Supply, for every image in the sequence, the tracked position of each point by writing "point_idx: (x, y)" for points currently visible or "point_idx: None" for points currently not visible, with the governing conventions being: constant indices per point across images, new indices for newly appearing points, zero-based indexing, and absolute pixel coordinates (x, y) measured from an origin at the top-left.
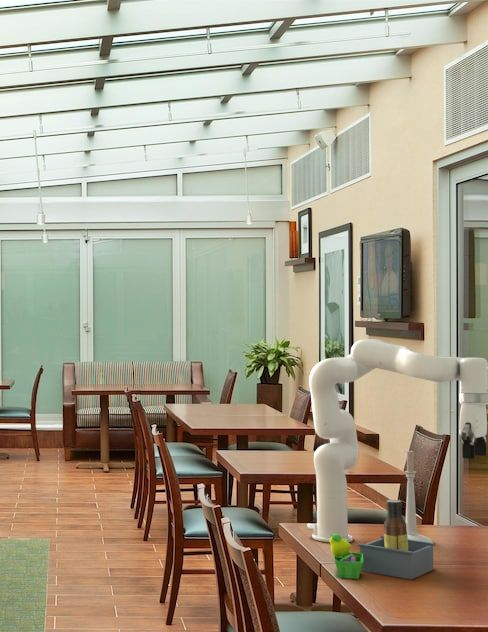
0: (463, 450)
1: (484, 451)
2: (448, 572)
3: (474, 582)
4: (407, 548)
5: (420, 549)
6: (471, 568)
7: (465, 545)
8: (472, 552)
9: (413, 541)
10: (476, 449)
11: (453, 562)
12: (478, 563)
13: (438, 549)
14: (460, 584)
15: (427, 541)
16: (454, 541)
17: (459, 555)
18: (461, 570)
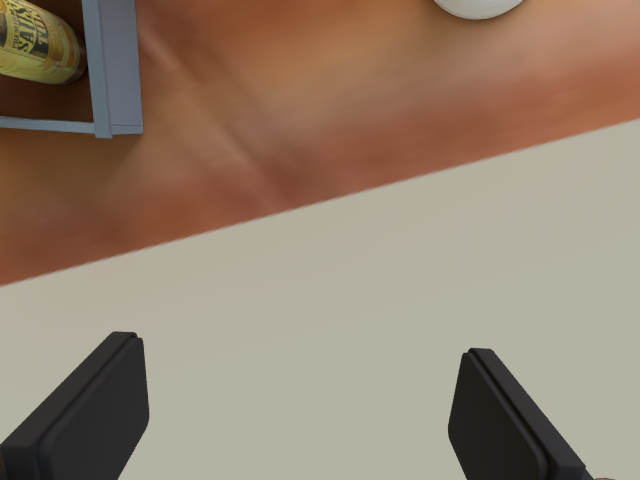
0: (65, 389)
1: (463, 462)
2: (146, 173)
3: (95, 250)
4: (12, 75)
5: (13, 122)
6: (234, 206)
7: (526, 109)
8: (436, 153)
9: (89, 66)
10: (486, 404)
11: (271, 149)
12: (305, 204)
13: (419, 59)
14: (49, 232)
15: (465, 5)
16: (573, 62)
17: (372, 136)
18: (193, 193)
